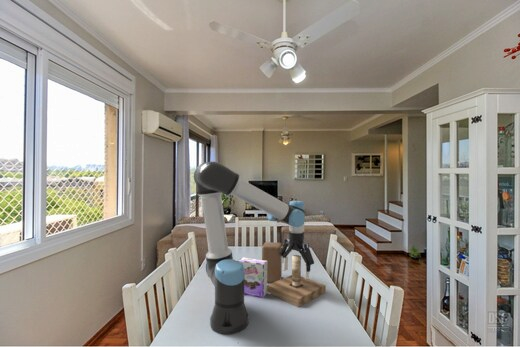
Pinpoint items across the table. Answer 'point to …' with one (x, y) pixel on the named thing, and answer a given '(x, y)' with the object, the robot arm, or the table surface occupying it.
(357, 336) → the table surface
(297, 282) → the peg
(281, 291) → the board
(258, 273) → the candy box
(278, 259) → the wooden block
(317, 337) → the table surface
